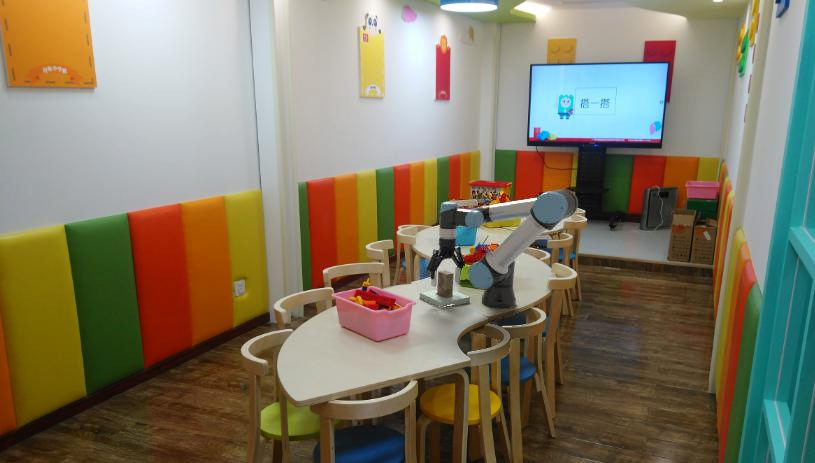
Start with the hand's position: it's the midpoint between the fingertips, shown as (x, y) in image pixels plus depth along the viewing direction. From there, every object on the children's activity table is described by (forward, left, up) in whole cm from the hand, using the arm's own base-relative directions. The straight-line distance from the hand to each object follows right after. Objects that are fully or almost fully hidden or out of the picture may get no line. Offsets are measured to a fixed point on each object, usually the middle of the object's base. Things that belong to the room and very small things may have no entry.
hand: (445, 283), depth 257 cm
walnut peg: (0, 0, -8) cm, 8 cm away
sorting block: (0, 0, -8) cm, 8 cm away
